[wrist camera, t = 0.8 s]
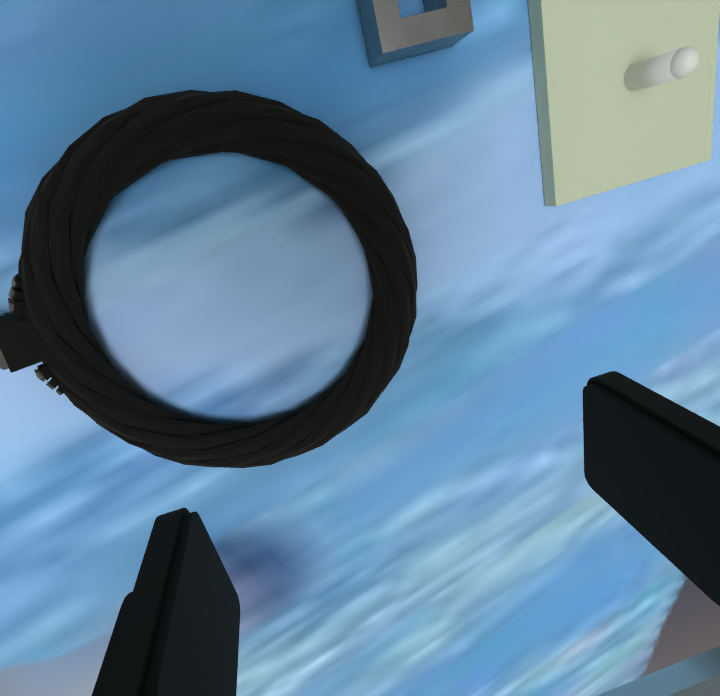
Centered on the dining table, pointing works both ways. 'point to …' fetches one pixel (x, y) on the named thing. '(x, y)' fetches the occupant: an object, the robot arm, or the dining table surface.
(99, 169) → the cable lock
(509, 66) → the dining table surface
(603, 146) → the keeper board
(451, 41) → the grey rectangular frame
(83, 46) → the dining table surface
